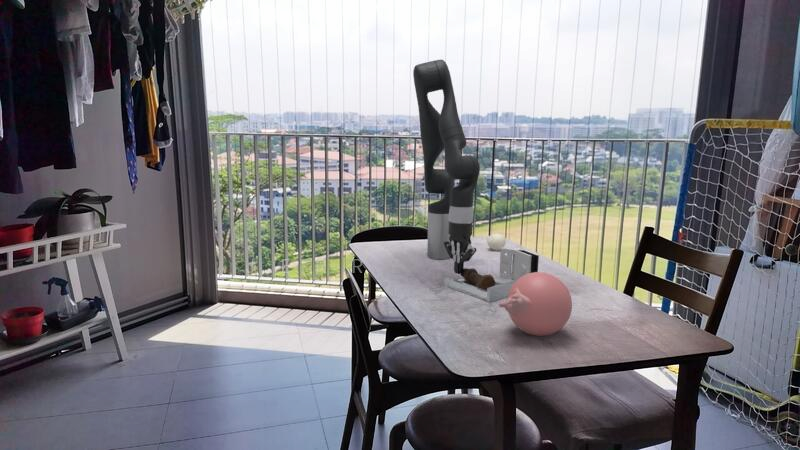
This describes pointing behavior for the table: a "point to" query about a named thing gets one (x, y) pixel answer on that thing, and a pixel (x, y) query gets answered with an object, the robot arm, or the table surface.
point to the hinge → (517, 263)
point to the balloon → (538, 304)
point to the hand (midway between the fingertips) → (458, 273)
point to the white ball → (496, 241)
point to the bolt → (478, 278)
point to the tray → (472, 289)
